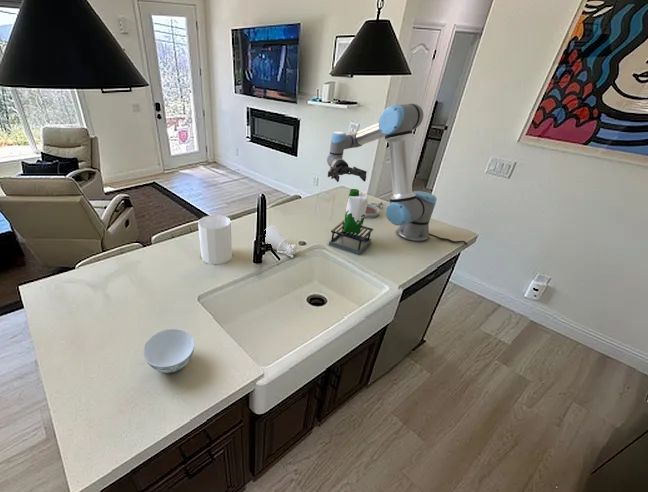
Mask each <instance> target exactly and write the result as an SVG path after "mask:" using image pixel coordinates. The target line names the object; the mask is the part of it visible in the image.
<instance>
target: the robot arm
mask: <svg viewBox="0 0 648 492" xmlns="http://www.w3.org/2000/svg"><path fill="white" fill-rule="evenodd" d="M424 117H425V115H424V110H423V109H422V107H421V106H420V105H419V104H416V103H406V104H405V103H403V104H393V105H391V106H388V107H386V108H385V109H384V110H383V111H382V112H381V114H380V116H379V118H378V123H376V124H373V125H371V126H369V127H366V128H364V129H361V130H359V131H357V132H354V133H350V134H346V132H344V131H334V132H332V134H331V139H330V148H329V154H328V156H327V157H326V163H327V165H328V166H329V167H330V168H329V170H328V171H327V178H330V179H331V180H333V179H334V180H335V181H336V182H337V183H339V182H340V176H343V175H348V176H349V175H353V176H358V177H359V178H360V179H361V180H362V182H366V180H367V174H368V171H367V170H364V169H361V168H359V167H356V166H353V167H350V166H349V164H348V162H346V160H345V159H343V157H344V150H348V149H349V150H350V149H355V148H360V147H362V146H363V145H365V144H369V143H371V142H374V141H376V140H379V139H382V138H384V141H386V142H387V143H388V152H389V161H390V163H389V164H390V174H391V187H392V195H391V196H390V197H389V204H388V205H387V206H386V208H385V216H386V218H387V220H388V221H389V222H390V224H392V225H394V226H398V229H397V235H398V236H399V237H401V238H402V239H404V240H406V241H411V242H418V243H419V242H424V241H427V240H428V239H429V236H430V237H432V238H436V239H438V240H441V241H448V242H449V243H453V244H459V243H463V244H465V245H466V246H467V245H468V242H467V241H465V240H452V239H450V238H445V237H440V236H437V235H435V234H432V233H430V230H429V229H430V226H429V224H430V221H431V218H432V215H433V212H434V209H435V207H436V205H437V203H436V202H437V196H436V195H434V194H433V193H429V192H428V191H427V192H426V191H420V190H414V191H413V180H412V179H413V178H412V166H411V150H410V148H411V147H410V138H411V137H412V136H413V131H414V130H416V129H417V128H418V127H420V125H421V124H422V123H423V120H424Z"/></svg>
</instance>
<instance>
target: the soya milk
mask: <svg viewBox="0 0 648 492" xmlns="http://www.w3.org/2000/svg"><path fill="white" fill-rule="evenodd" d="M367 204H368V193H366V192H360V190H359V189H358V188H350V190H349V193H348V199H347V202H346V208H345V213H344V219H343V221H344V232H350V233H355V234H358V235H360V233H361V232H360V230H361V229H362V228H361V227H362V226H364V225H363V224H364V222H365V218H364V217H365V212H366V208H367ZM359 232H360V233H359Z"/></svg>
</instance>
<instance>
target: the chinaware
mask: <svg viewBox="0 0 648 492" xmlns="http://www.w3.org/2000/svg"><path fill="white" fill-rule="evenodd" d="M194 351H195V340H194V337H193V336H192V334H191V333H189V332H188V331H186V330H184V329H179V328H168V329H164V330H161V331H158V332H156V333H154V334H153V335H152V336H150V337H149V338H148V340H146V341H145V343H144V346H143V348H142V355H143V359H144V360H145V361H146V363H147V364H148V365H149V366H150V368H152V369H153V370H155V371H157V372H159V373H160V372H161V373H166V374H169V373H175V372H177V371H180V370H181V369H183V368H184V367H185V366H186V365H188V364H189V362H190V361H191V358H192V356H193V355H194Z"/></svg>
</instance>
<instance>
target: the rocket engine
mask: <svg viewBox="0 0 648 492" xmlns="http://www.w3.org/2000/svg"><path fill="white" fill-rule="evenodd" d="M265 230H266V237H265V242H266V243H268V244H271V245H272V248H273V249H272V250H276V252H277V253H278V254H283V255H286V256H288V257H289V258H291V259H294V258H295V255H296V253H299V252H300V251H301V250H300V249H299V248H297V245H296V244H295V243H293V244H290V243H288V240H287V239H286V238H285V236H284V234H282V233H281V231H280V229H278V228H277V227H276V226H275V224H272V225H271V224H270V225H269V226H267V227H266V228H265ZM295 251H296V252H295Z"/></svg>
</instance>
